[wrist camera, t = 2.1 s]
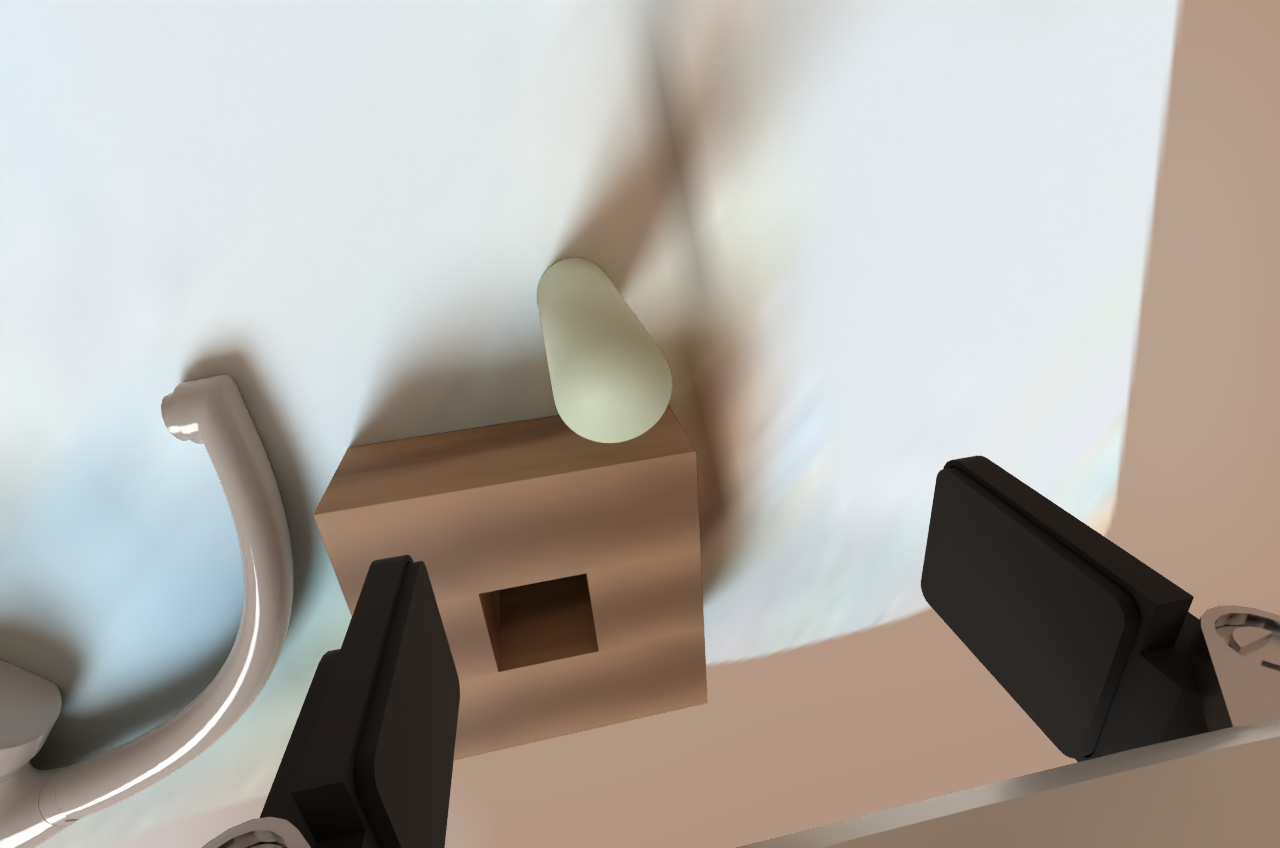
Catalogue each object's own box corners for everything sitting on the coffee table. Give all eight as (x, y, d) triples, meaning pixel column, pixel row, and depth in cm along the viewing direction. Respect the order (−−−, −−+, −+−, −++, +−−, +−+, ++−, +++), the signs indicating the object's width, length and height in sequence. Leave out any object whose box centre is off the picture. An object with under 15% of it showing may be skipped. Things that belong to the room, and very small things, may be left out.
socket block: (348, 447, 30) (313, 515, 24) (665, 398, 32) (696, 451, 27) (425, 678, 37) (410, 770, 32) (680, 625, 39) (707, 703, 34)
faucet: (-499, 418, 25) (131, 175, 26) (-10, 839, 35) (436, 658, 36) (-727, 463, 21) (44, 167, 21) (-91, 931, 31) (421, 722, 31)
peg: (531, 262, 28) (544, 340, 17) (608, 253, 28) (668, 323, 18) (543, 337, 29) (562, 451, 19) (616, 327, 30) (675, 433, 19)
